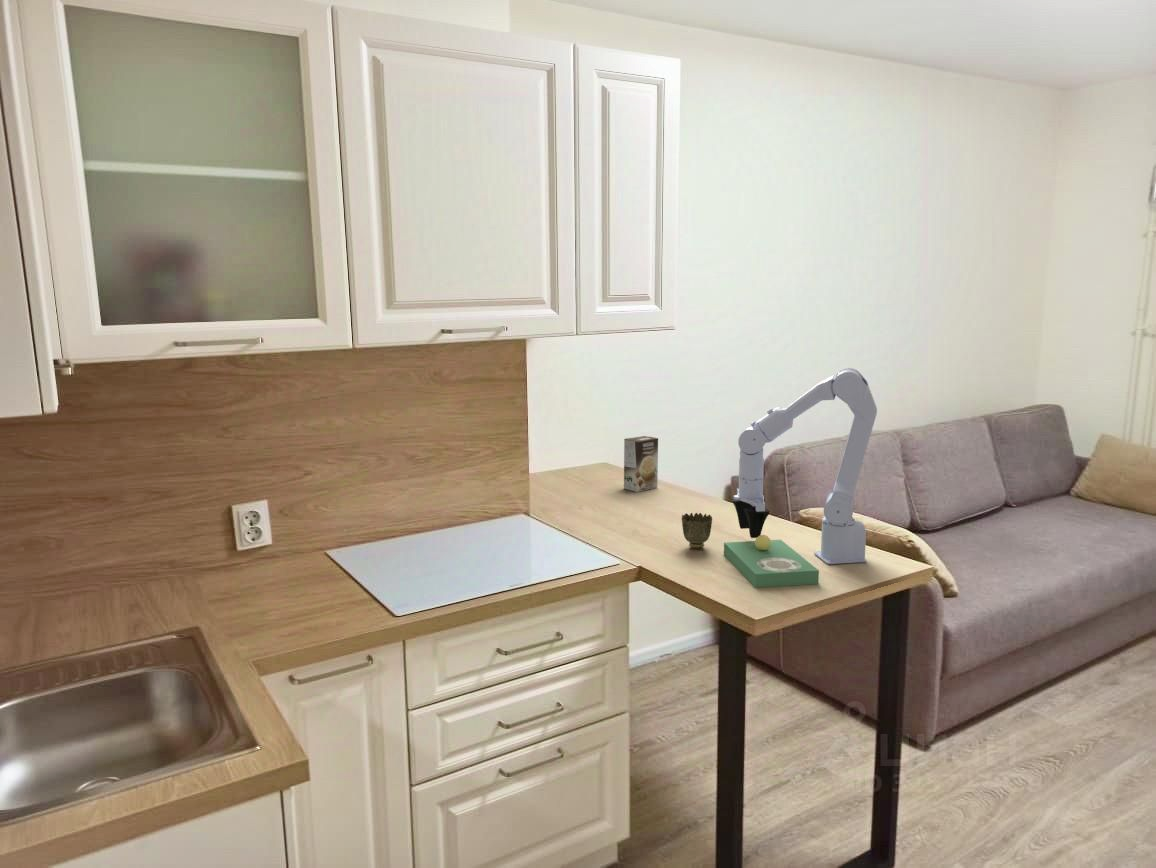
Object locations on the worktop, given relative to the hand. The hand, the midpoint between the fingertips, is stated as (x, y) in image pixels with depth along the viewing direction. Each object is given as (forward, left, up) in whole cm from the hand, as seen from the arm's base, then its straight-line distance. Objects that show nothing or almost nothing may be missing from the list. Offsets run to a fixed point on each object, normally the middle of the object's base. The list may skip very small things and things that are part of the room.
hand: (749, 532), depth 200 cm
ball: (0, +9, 0) cm, 9 cm away
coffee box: (+13, -65, -5) cm, 66 cm away
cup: (+12, -4, -5) cm, 13 cm away
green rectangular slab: (0, +13, -4) cm, 14 cm away
